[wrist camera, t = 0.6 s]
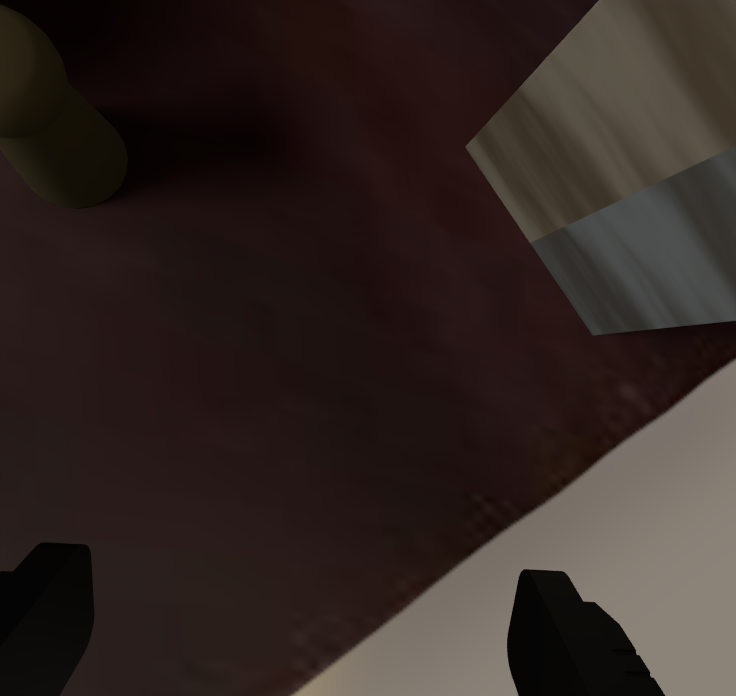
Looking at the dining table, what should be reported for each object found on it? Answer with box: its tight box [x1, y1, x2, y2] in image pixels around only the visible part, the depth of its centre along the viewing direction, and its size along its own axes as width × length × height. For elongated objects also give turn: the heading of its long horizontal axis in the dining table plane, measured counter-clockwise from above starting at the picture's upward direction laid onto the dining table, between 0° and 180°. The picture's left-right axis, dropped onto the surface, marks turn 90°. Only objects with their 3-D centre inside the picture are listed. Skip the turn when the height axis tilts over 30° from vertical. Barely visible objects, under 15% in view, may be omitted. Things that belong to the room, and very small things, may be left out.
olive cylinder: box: [0, 5, 128, 209], centre depth 26 cm, size 6×6×11 cm
